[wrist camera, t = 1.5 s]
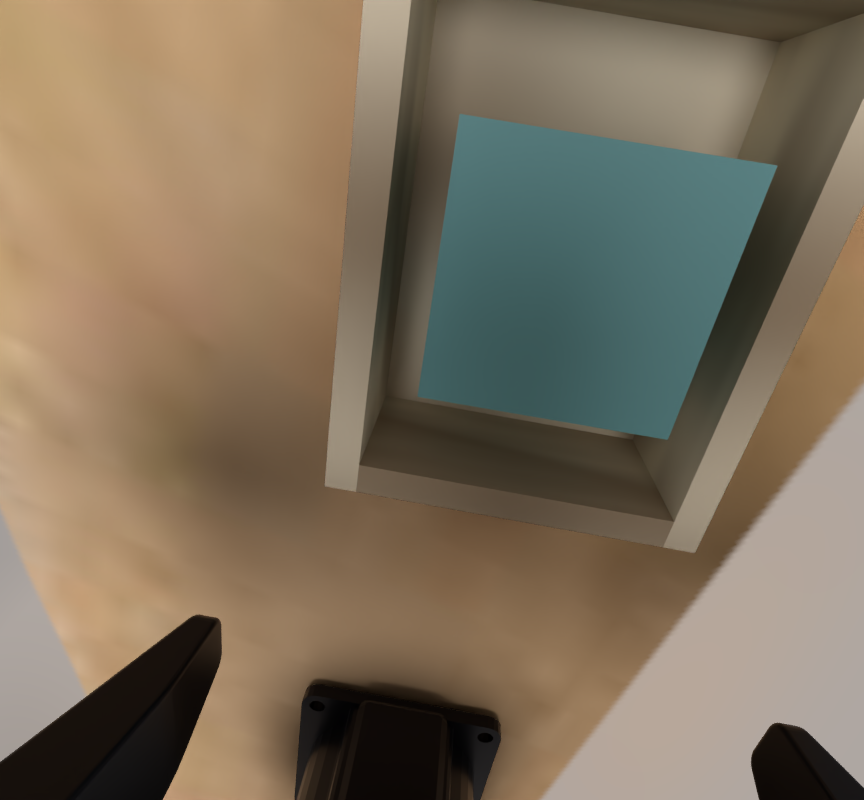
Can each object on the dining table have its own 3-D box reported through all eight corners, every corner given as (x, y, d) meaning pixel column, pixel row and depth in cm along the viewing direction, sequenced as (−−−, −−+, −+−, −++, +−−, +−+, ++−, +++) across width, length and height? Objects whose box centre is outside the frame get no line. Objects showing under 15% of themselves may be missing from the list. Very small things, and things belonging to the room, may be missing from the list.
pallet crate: (638, 445, 14) (694, 553, 10) (366, 396, 14) (324, 486, 10) (799, 18, 10) (991, -59, 6) (415, -47, 10) (376, -161, 6)
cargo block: (618, 358, 12) (667, 440, 8) (436, 327, 12) (417, 396, 8) (683, 157, 10) (777, 165, 7) (467, 122, 10) (459, 113, 7)
